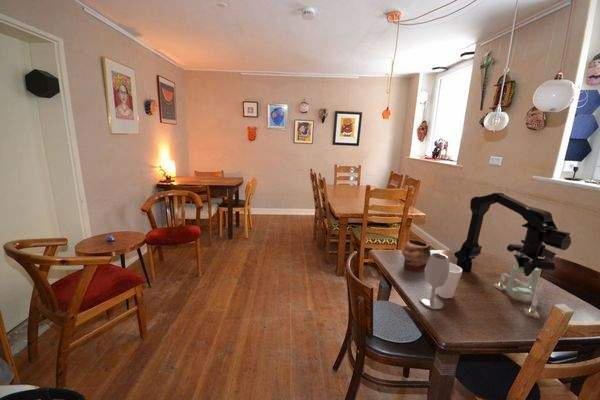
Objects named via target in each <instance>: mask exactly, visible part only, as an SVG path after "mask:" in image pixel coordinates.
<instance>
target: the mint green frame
mask: <svg viewBox="0 0 600 400" xmlns="http://www.w3.org/2000/svg"><path fill="white" fill-rule="evenodd" d="M541 271H542V269H539V268H535V269H534V270H533V271H532V273H531V274H530V275H531V278H530V282H529V286H531V287H532V288H533V289H534V291H535V292H536V287H537V284H538V280H539V277H540V273H541ZM517 274H524V275H525V273H524V267H519V266H516V265H515V266H514V265H513V266H511V268H510V273H509V275H510V276H509V278H508V280H507V285H506V288H505V290H504V291H506V292H507V293H509V294H514V295H523V296H525V295H527V296H532V294H531V292H530V289H528V288H526V287H519V286H518V287H516V286H514V285H515V283H516V282H515V279H517Z"/></svg>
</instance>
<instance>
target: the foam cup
mask: <svg viewBox="0 0 600 400" xmlns="http://www.w3.org/2000/svg"><path fill="white" fill-rule="evenodd" d="M462 273H463V271H462V269H461V268H460V267H459V266H457V265H456V263H455V264H454V263H452V262H449V275H448V278H447V280H446V282H445V284H444V285H443V286H440V287H437V288H436V290H435V294H437V295H438V296H440V297H441V298H443V299H447V298H451V299H453V297H454V294H455V292H456V289H457V286H458V283H459V282H460V278H462Z"/></svg>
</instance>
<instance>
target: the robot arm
mask: <svg viewBox="0 0 600 400" xmlns="http://www.w3.org/2000/svg"><path fill="white" fill-rule="evenodd" d="M469 204H470V207H469V208H470V211H471V218H470V222H469V227H468V231H467V236H466V239H465V241H464V242H463V243H462V245H461V247H460V250H457V251H456V252H454V257H455V258H456V263H455V265H457V266H459V267H460V268H461V269H462V272H466V273H471V270H472V267H473V261H472V260H475V259H476V257H478V256H479V255H480V254H482V251H481V250H482V248H483V247H482V245H479V238H480V235H481V234H480V233H481V229H482V226H483V225H482V224H483V221H484V216H485V215H486V213H487V212H488V211H489V210H490V207H491V205H493V204H499V205H501V206H503V207H505V208H507V209H508V210H511V211H513V212H515V213H517V214H519V215H520V216H521V217H522V218H523V220H525V221H526V223H524V224H522V225H521V227H523V228H526V232H525V237H524V239H521V241H520V243H521V244H522V245H521V244H517V243H516V244H513V243H509V244H508V245H507V247H506V250H507V251H508V252H510V253H514V251H515V254H513V256H514V258H515V261H516V262H517V267H524V273H525V274H524V273H523V274H524V276H525V277H529V276H530V275H532V274H531V273H532V271H533V270H534V269H535V268H537V269H539V270H549V271H555V269H556V267H557V265H556V263H555V262H553V261H552V260H553V259H555V257H556V255H557V253H556V252H554V251H551V250H550V249H548V248H546V246H549V247H552V248H555V249H559V250H562V251H566V250H568V249H569V248H570V246H571V245H572V238H571V236H570V235H571V233H570V232H567V231H562V230H558V227H557V224H556V223H555V221H554V219H553V214H552V213H551V212H550V211H549V210H548V211H547V210H545V209H542V208H538V207H534V206H533V207H532V206H529V205H527V204H525V203H523V202H521V201H518V200H517V199H514V198H512V197H510V196H508V195H506V194H504V193H503V192H493V193H490V194H486V195H483V196H482V195H481V196H474V197H472V198H471V199H470V203H469Z"/></svg>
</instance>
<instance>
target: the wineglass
mask: <svg viewBox="0 0 600 400" xmlns="http://www.w3.org/2000/svg"><path fill="white" fill-rule="evenodd" d="M449 263H450V259H449V257H448V256H447V255H445V254H443V253H440V252H432V253H431V256H430V257H429V259H428V262H427V265H426V267H425V269H424V279H425V281H426V282H427V283H428V284H429V285H430V287H431V291H430V295H422V296H421V297H420V298H419V300H418V301H419V303H421V304H422V305H423V306H424V307H426V308H429V309H432V310H442V308H443V307H444V303H443V302H442V301H441V300H440V299H439V298H437V297H435V295H436V288H437V287H440V286H443V285H444V284H445V282H446V280H447V278H448V275H449Z"/></svg>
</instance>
